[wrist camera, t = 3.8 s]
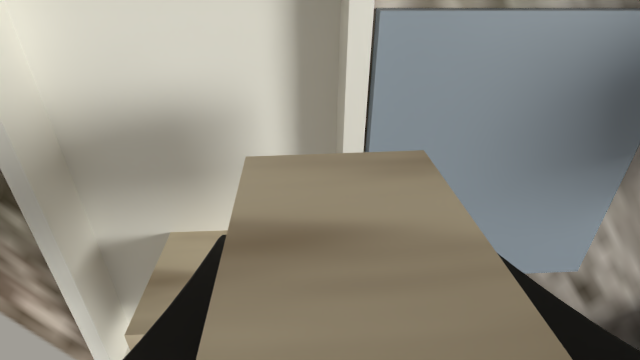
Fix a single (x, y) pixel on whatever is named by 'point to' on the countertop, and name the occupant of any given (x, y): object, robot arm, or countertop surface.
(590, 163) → the slate pad
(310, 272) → the labelled block
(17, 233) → the countertop surface
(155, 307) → the plain block
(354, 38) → the parts tray
